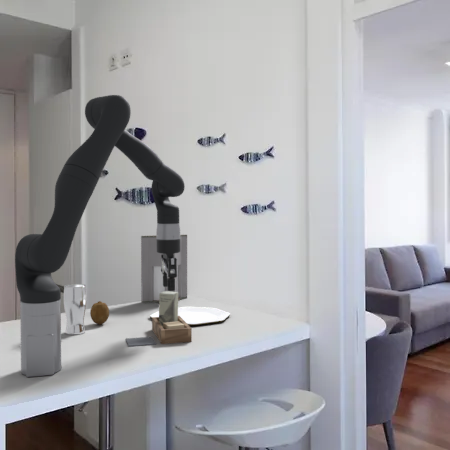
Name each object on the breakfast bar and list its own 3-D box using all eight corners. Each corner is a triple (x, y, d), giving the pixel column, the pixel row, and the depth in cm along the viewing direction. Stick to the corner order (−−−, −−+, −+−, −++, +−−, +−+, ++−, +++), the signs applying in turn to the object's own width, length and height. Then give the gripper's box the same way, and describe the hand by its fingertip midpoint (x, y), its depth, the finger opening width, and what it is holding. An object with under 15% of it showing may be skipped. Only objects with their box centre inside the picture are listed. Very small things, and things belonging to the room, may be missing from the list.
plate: (235, 312, 189) (235, 308, 189) (217, 330, 163) (217, 325, 163) (168, 309, 196) (168, 305, 196) (139, 324, 170) (139, 320, 169)
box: (158, 333, 157) (158, 292, 156) (163, 330, 161) (163, 290, 160) (173, 334, 155) (173, 293, 155) (178, 331, 159) (178, 291, 159)
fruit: (113, 323, 169) (113, 300, 169) (99, 327, 164) (99, 303, 164) (100, 321, 173) (100, 298, 172) (86, 325, 167) (86, 301, 167)
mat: (156, 344, 144) (156, 343, 144) (128, 346, 141) (128, 345, 141) (152, 337, 151) (152, 336, 151) (125, 339, 149) (125, 338, 149)
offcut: (184, 332, 148) (184, 324, 148) (168, 334, 146) (168, 326, 146) (178, 329, 153) (178, 321, 153) (163, 330, 151) (163, 322, 151)
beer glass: (78, 328, 162) (78, 283, 162) (91, 332, 158) (90, 285, 157) (59, 332, 157) (59, 285, 156) (72, 336, 152) (71, 288, 152)
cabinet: (185, 297, 219) (185, 234, 218) (195, 301, 211) (195, 235, 210) (141, 302, 208) (141, 235, 207) (150, 306, 200) (150, 237, 199)
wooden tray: (191, 341, 147) (191, 328, 147) (161, 344, 144) (161, 330, 144) (179, 327, 164) (179, 315, 164) (152, 329, 161) (152, 317, 161)
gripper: (184, 239, 151) (185, 291, 152) (175, 236, 165) (176, 284, 165) (160, 239, 149) (160, 293, 150) (153, 236, 163) (153, 285, 163)
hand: (168, 288), depth 158 cm, fingers open, 8 cm apart
